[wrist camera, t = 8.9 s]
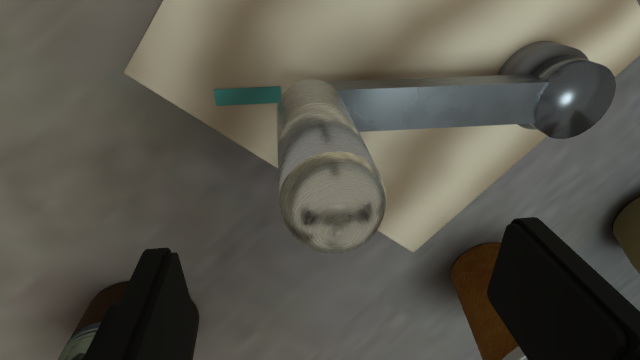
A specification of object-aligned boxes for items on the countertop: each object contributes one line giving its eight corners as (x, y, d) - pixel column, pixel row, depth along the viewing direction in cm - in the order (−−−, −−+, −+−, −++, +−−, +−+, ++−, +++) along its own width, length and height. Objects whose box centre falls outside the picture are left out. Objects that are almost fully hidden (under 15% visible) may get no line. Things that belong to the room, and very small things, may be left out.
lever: (600, 53, 21) (892, 136, 11) (572, 124, 23) (793, 244, 13) (273, 63, 19) (275, 172, 9) (278, 138, 21) (284, 290, 12)
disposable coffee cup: (426, 304, 36) (486, 437, 26) (444, 232, 31) (526, 361, 21) (514, 296, 37) (605, 421, 27) (544, 224, 32) (669, 345, 22)
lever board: (642, 35, 24) (686, 44, 21) (408, 243, 32) (420, 267, 29) (383, -389, 14) (408, -468, 11) (130, 67, 21) (111, 81, 19)
